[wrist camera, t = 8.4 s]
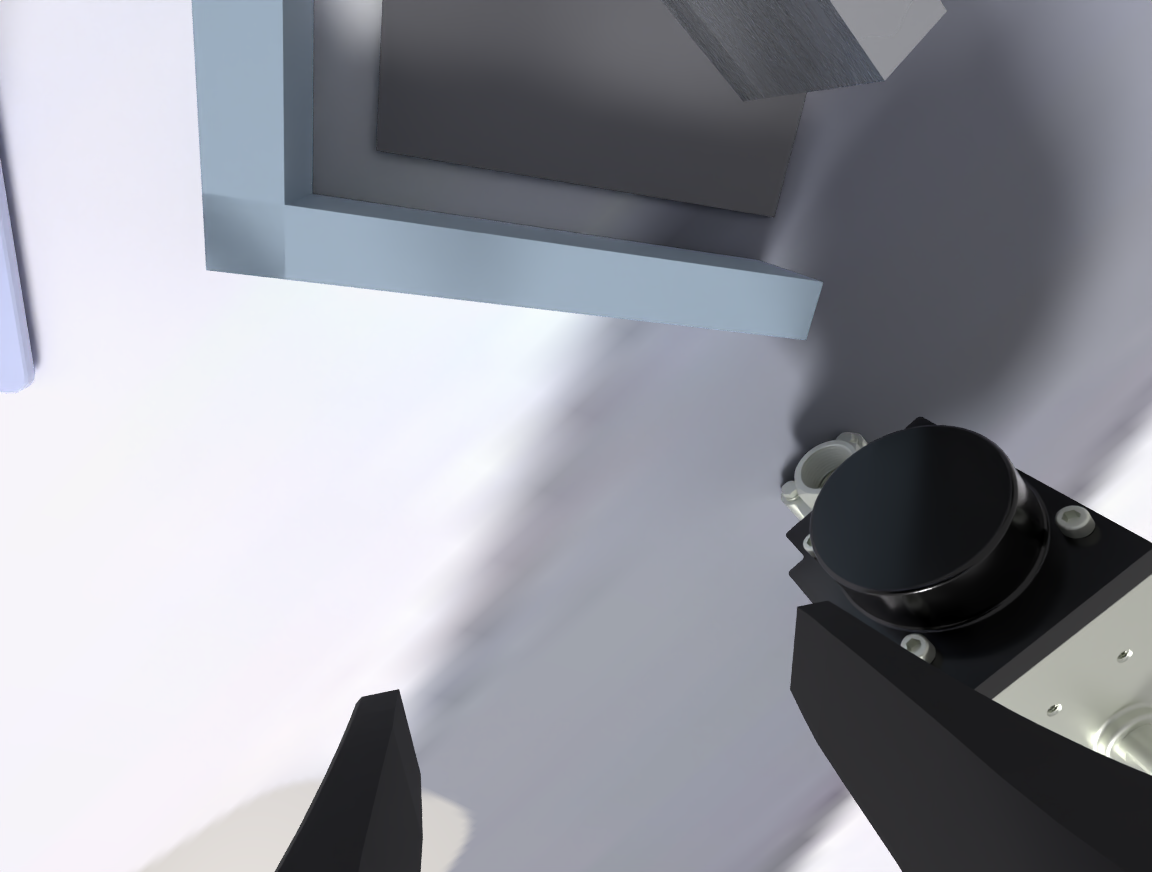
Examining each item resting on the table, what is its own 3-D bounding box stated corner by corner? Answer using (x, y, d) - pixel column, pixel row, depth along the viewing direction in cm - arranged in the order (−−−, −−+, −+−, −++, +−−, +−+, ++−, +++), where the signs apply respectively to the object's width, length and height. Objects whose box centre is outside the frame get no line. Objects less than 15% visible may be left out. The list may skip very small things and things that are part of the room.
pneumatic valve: (798, 332, 21) (1202, 535, 10) (956, 532, 26) (1338, 811, 15) (671, 452, 21) (915, 758, 11) (848, 623, 26) (1136, 950, 16)
